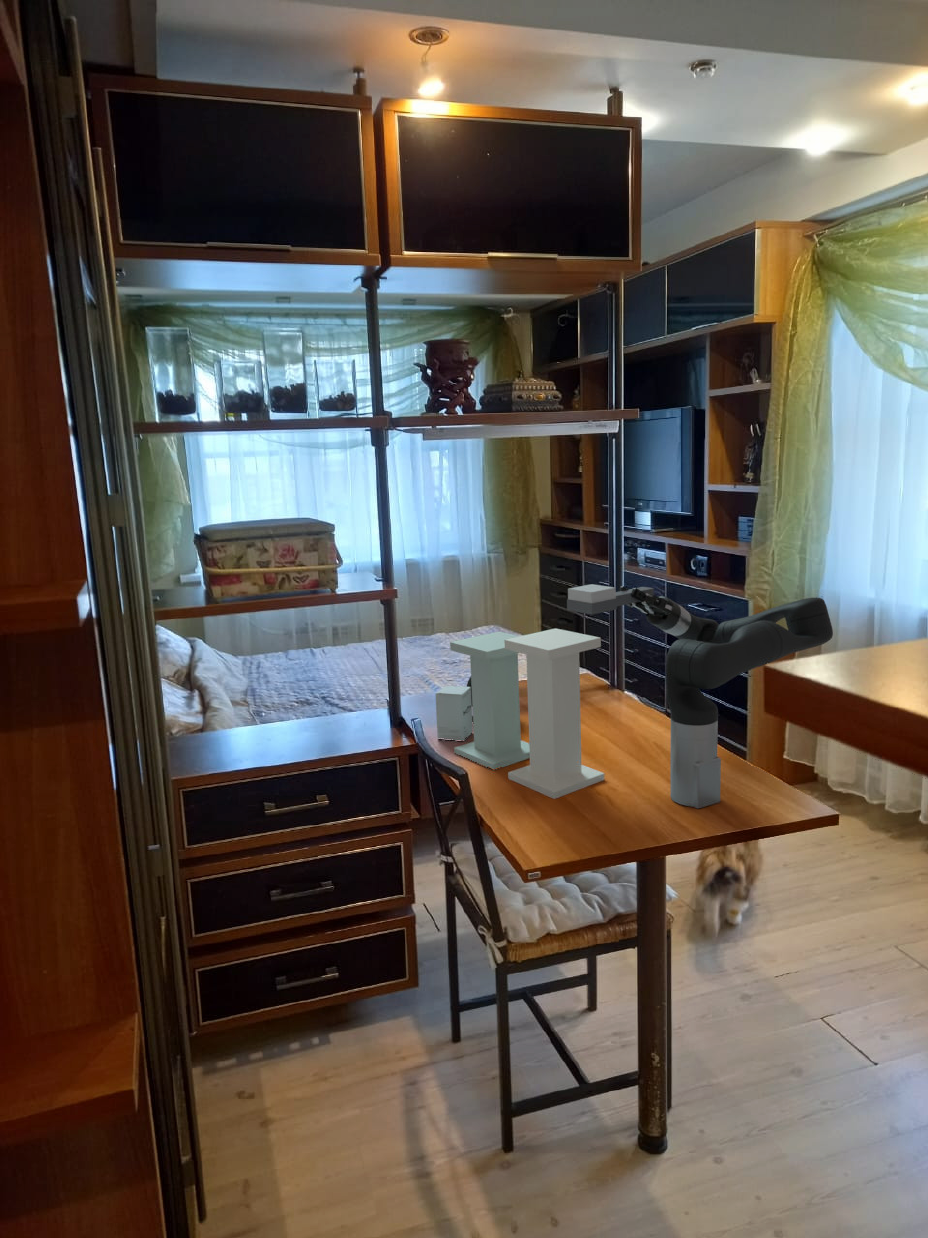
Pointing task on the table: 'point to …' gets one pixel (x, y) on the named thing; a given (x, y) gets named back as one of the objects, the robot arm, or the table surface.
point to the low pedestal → (493, 701)
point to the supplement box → (454, 712)
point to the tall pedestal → (554, 712)
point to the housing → (600, 598)
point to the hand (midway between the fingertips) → (626, 590)
